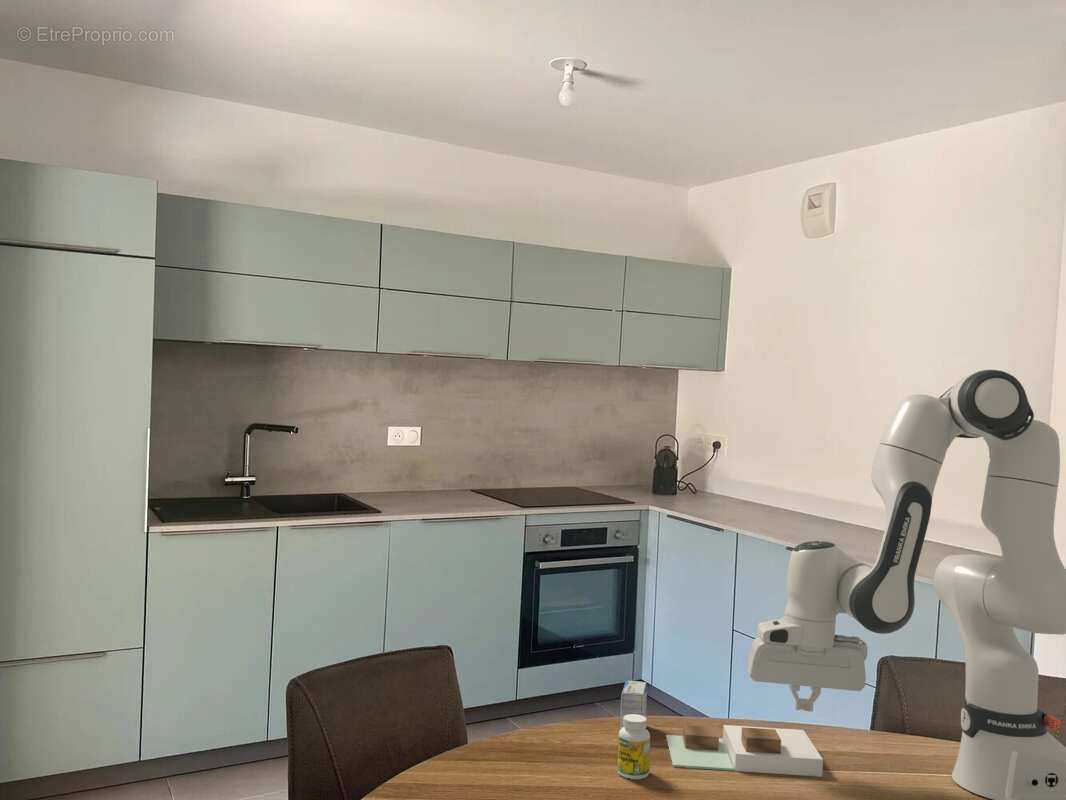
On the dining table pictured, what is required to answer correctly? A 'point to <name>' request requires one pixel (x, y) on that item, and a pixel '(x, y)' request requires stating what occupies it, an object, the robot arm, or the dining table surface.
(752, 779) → the dining table surface
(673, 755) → the mat
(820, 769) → the white flat block
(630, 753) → the supplement bottle
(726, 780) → the dining table surface
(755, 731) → the near tile
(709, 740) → the far tile
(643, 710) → the medicine box
